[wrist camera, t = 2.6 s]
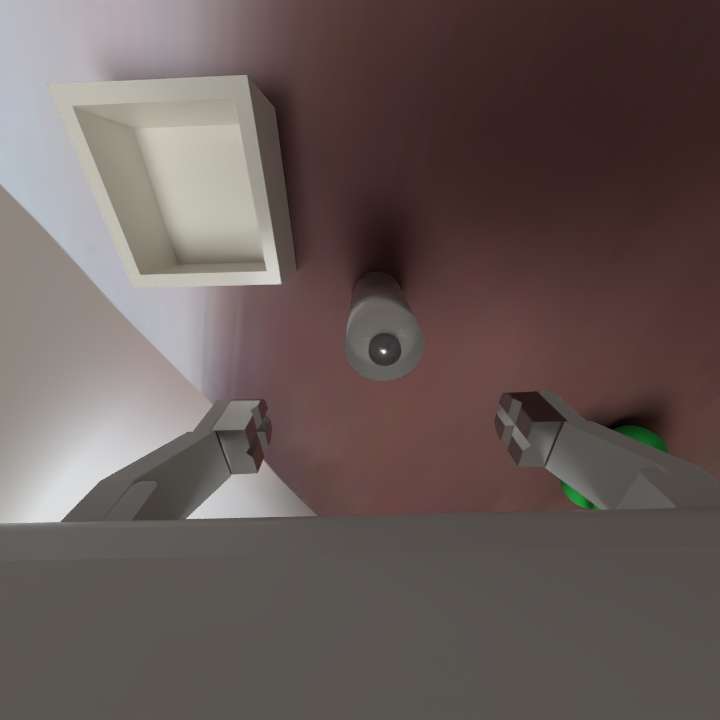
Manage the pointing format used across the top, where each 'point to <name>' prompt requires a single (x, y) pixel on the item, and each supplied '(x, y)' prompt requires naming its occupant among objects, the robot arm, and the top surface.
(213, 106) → the cream square tray
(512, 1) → the top surface
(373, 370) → the cylinder
